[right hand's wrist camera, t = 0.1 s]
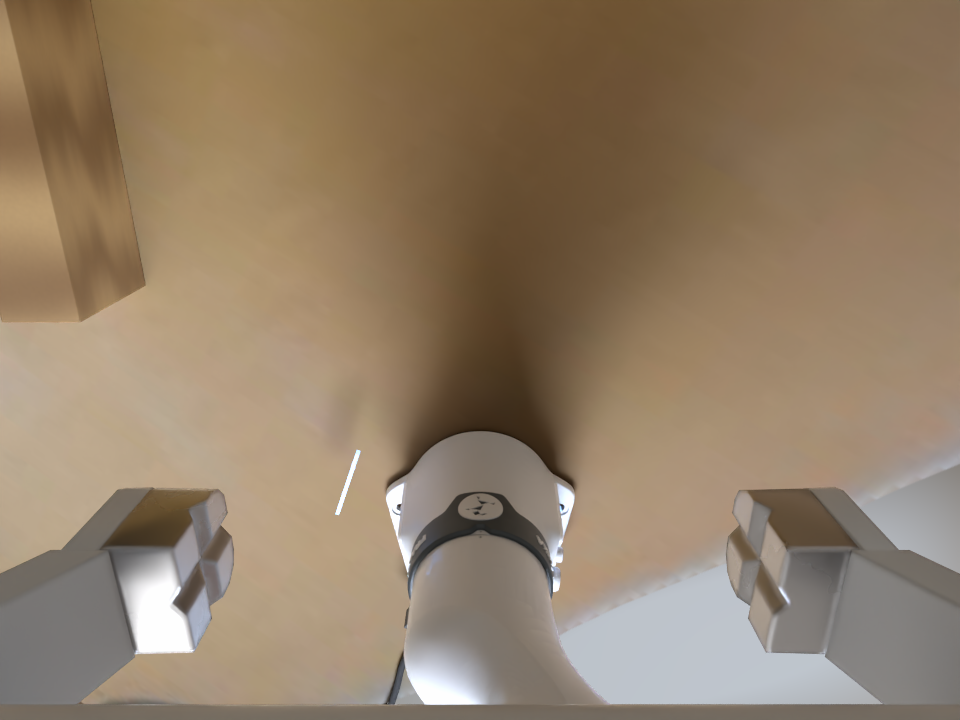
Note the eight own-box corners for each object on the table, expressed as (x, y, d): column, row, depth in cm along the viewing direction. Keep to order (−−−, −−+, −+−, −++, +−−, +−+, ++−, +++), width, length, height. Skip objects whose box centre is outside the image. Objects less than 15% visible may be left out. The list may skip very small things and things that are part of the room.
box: (145, 285, 58) (80, 322, 49) (80, 285, 58) (1, 322, 49) (77, -68, 48) (-22, -109, 39) (-2, -68, 48) (-121, -109, 39)
